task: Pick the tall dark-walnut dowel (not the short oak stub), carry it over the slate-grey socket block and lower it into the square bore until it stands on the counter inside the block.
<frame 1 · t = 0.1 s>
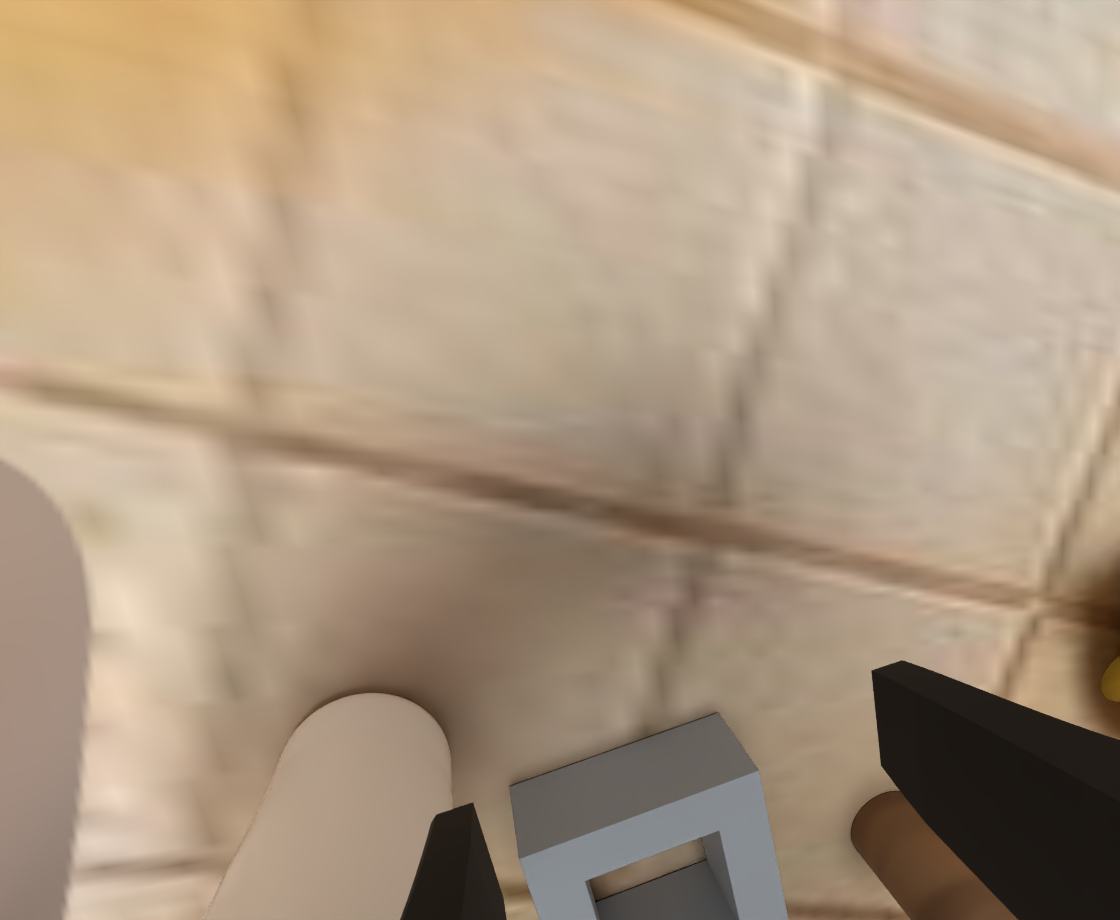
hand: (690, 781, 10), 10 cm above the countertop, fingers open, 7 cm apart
socket block: (644, 855, 23), on the countertop
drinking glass: (370, 751, 20), on the countertop
walnut dowel: (886, 824, 25), on the countertop
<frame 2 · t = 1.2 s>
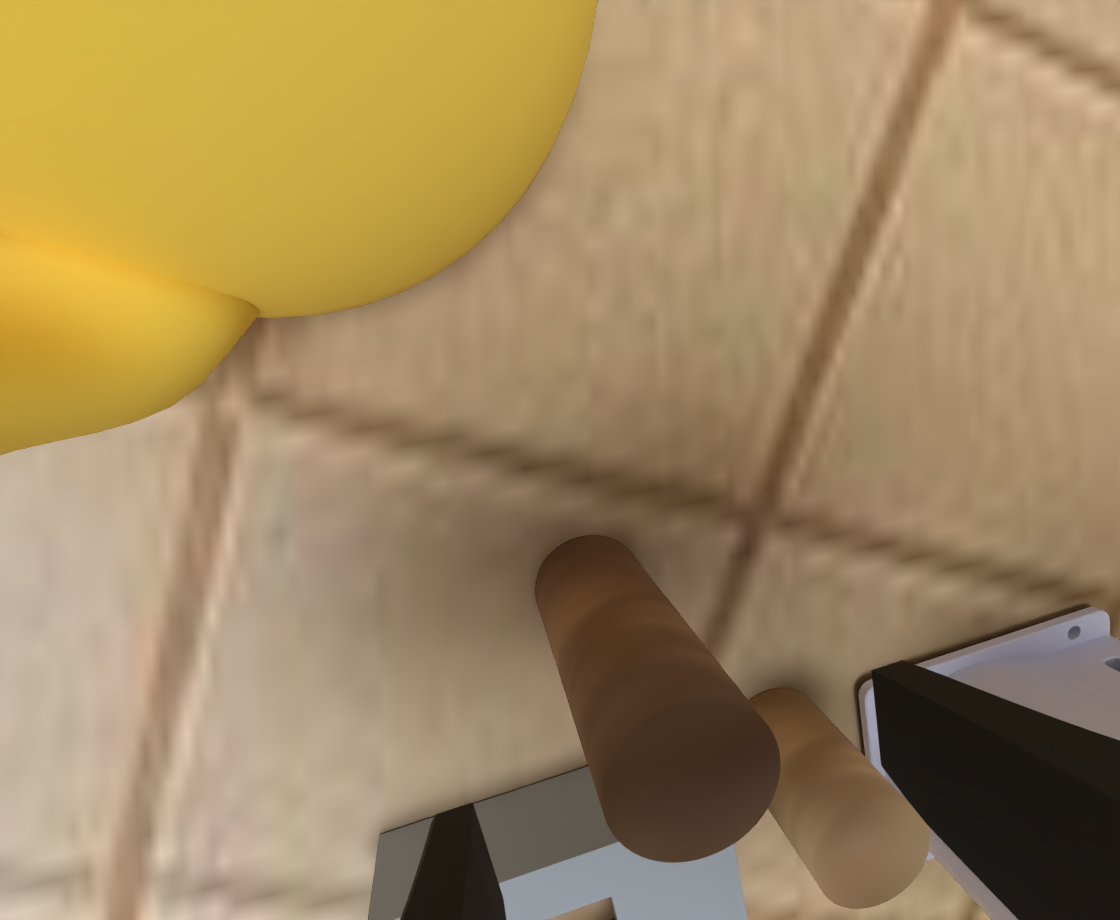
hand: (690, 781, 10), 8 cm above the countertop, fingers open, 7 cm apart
socket block: (564, 880, 20), on the countertop
walnut dowel: (588, 586, 18), on the countertop
teapot: (238, 11, 14), on the countertop
oak stub: (773, 730, 20), on the countertop
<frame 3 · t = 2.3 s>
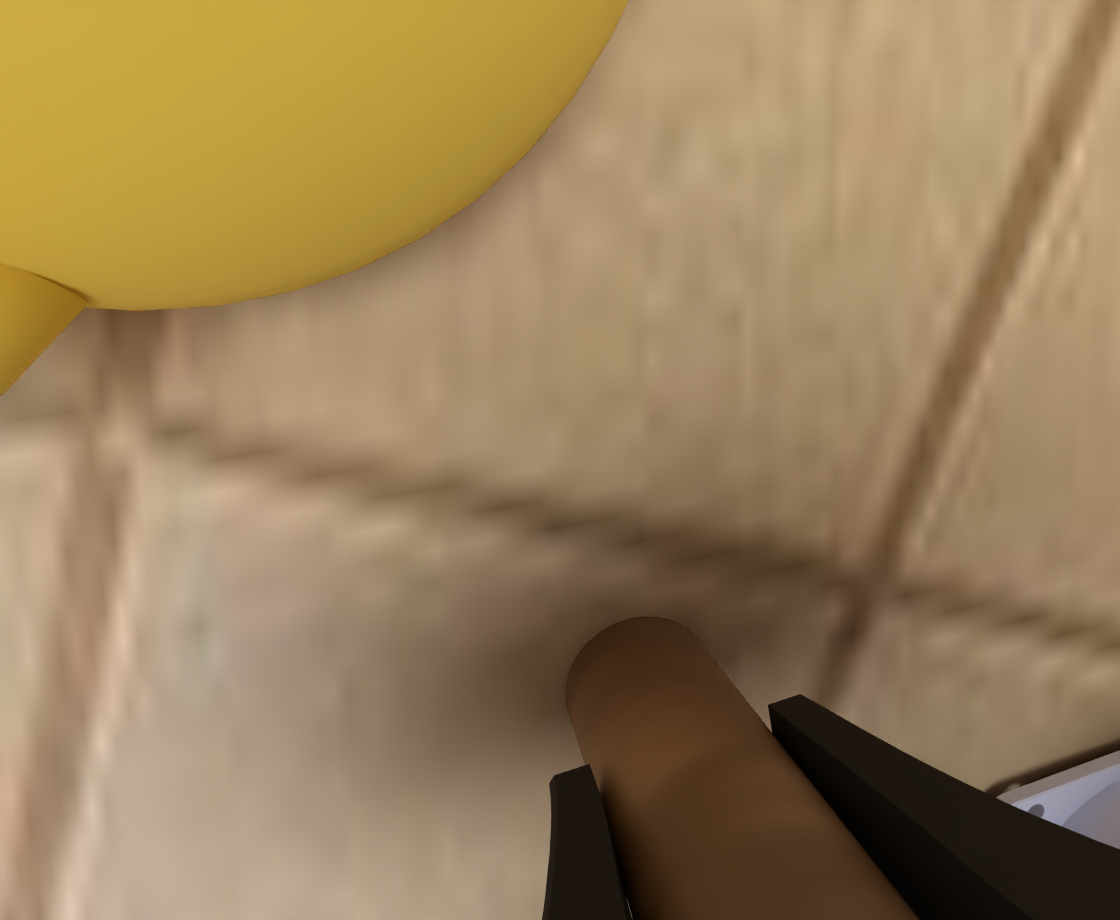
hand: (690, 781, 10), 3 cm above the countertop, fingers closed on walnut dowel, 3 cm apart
walnut dowel: (639, 685, 13), on the countertop, touching gripper
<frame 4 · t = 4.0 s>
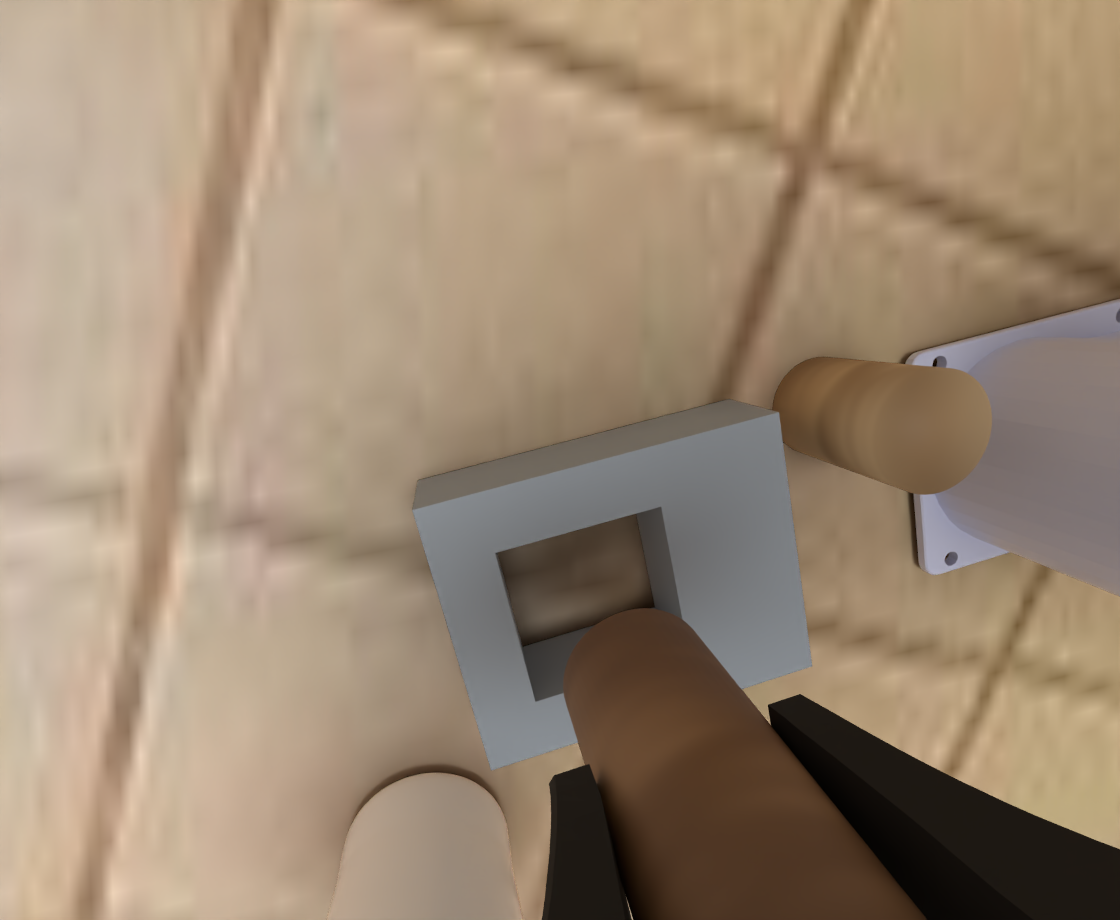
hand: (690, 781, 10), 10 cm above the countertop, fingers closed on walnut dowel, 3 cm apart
socket block: (604, 555, 20), on the countertop
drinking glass: (428, 826, 21), on the countertop
walnut dowel: (636, 677, 13), point 7 cm above the countertop, touching gripper
oak stub: (817, 406, 20), on the countertop
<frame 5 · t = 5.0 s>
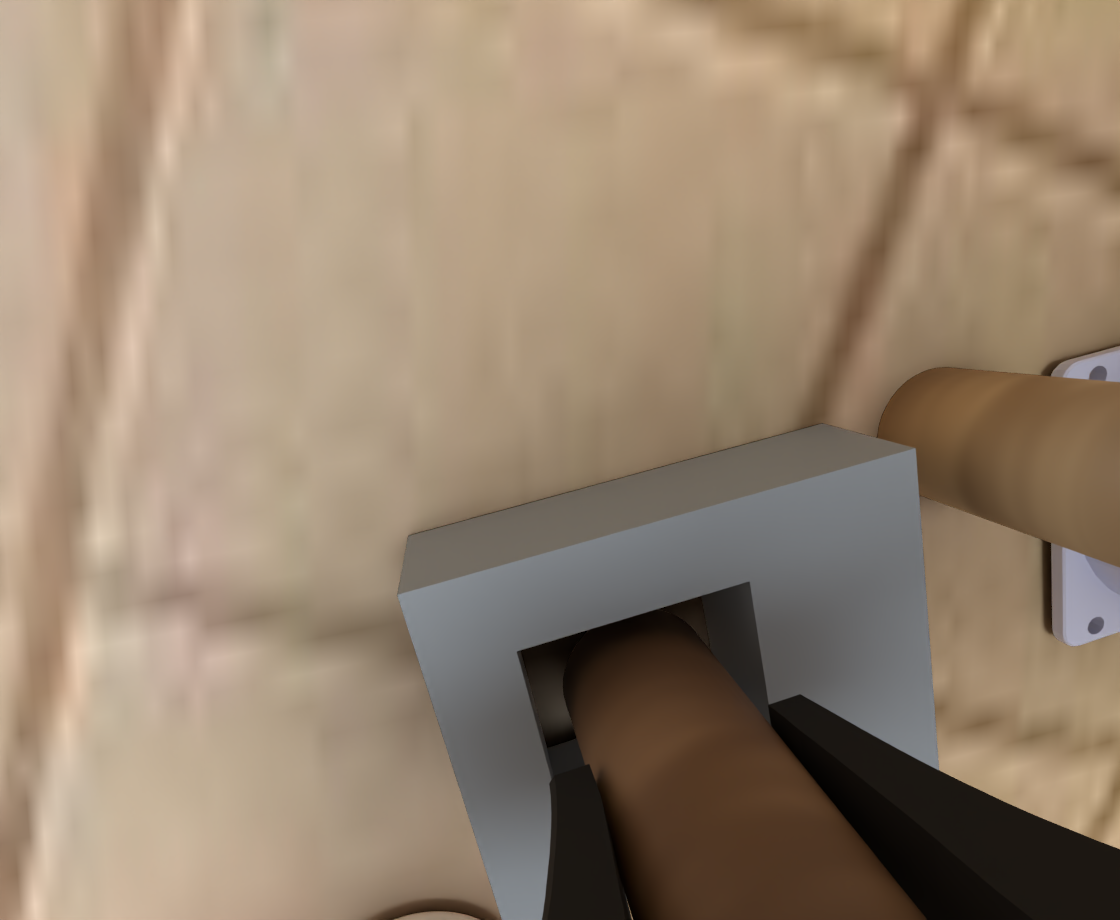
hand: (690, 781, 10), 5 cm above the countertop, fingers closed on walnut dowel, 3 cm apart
socket block: (655, 629, 15), on the countertop
walnut dowel: (636, 677, 13), point 2 cm above the countertop, touching gripper
oak stub: (934, 431, 15), on the countertop
when the fingers open (4 cm above the countertop, at t = 5.6 s): walnut dowel drops 1 cm, resting in socket block.
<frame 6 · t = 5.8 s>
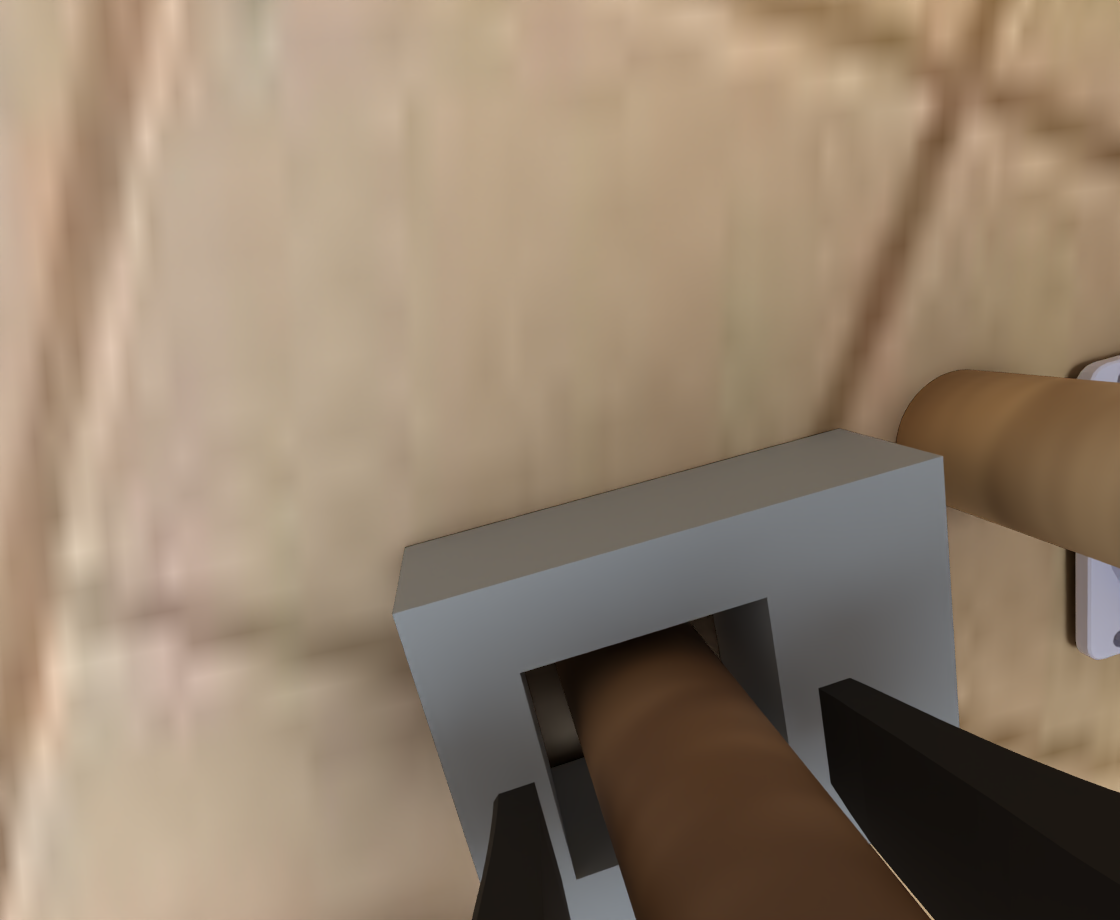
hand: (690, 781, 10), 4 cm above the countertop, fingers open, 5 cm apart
socket block: (664, 644, 14), on the countertop
walnut dowel: (623, 650, 14), resting in socket block
oak stub: (956, 437, 14), on the countertop
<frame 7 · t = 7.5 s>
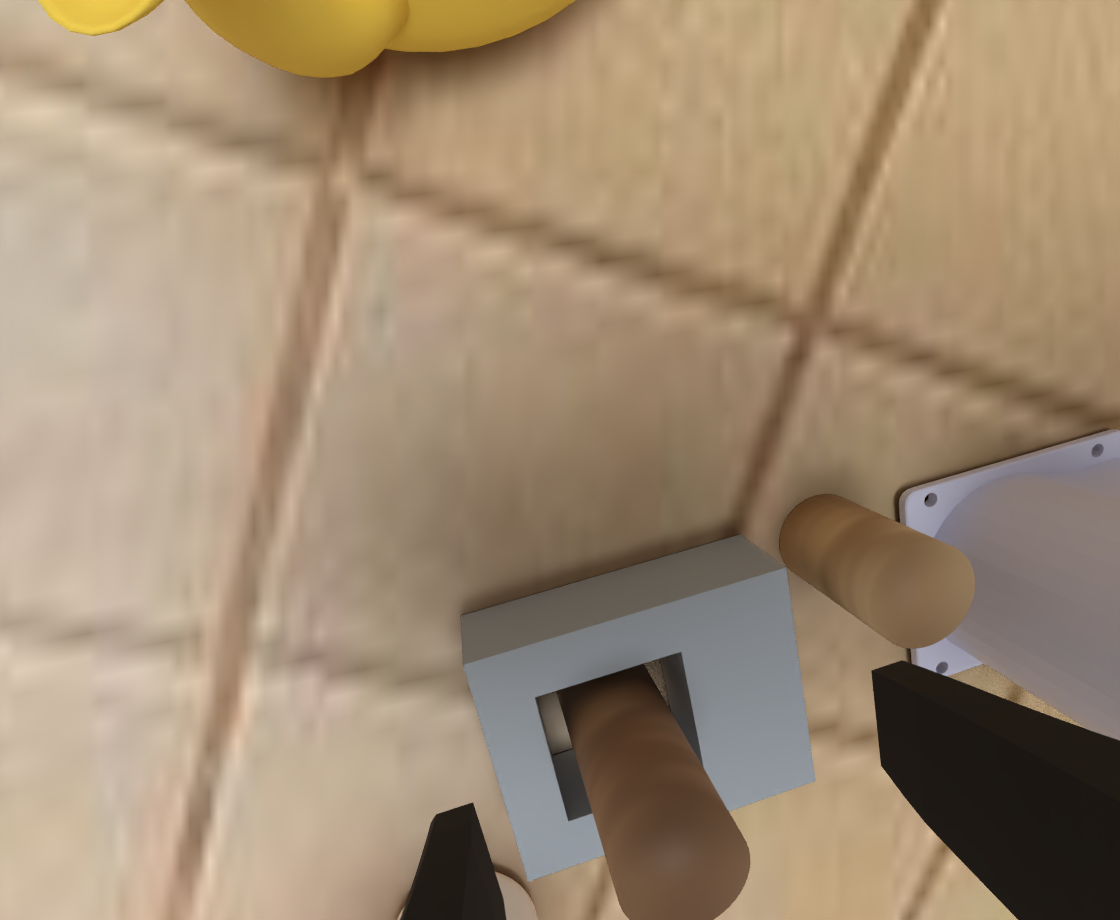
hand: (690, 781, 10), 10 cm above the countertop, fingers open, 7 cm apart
socket block: (626, 674, 22), on the countertop
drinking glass: (465, 914, 23), on the countertop
walnut dowel: (599, 678, 21), resting in socket block
oak stub: (820, 536, 22), on the countertop
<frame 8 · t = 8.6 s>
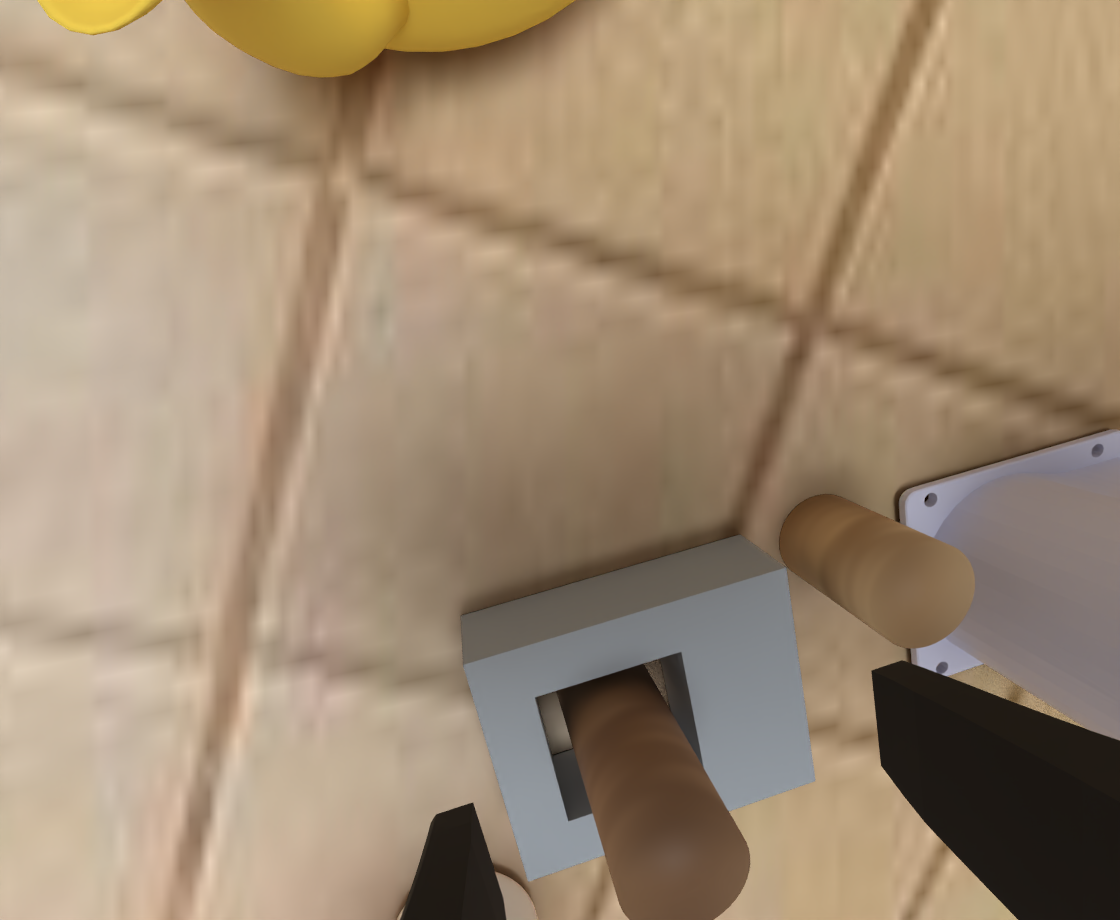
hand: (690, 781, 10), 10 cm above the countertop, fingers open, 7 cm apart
socket block: (626, 674, 22), on the countertop
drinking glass: (465, 914, 23), on the countertop
walnut dowel: (599, 678, 21), resting in socket block
oak stub: (820, 536, 22), on the countertop
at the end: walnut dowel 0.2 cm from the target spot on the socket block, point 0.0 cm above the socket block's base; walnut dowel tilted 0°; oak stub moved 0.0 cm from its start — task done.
